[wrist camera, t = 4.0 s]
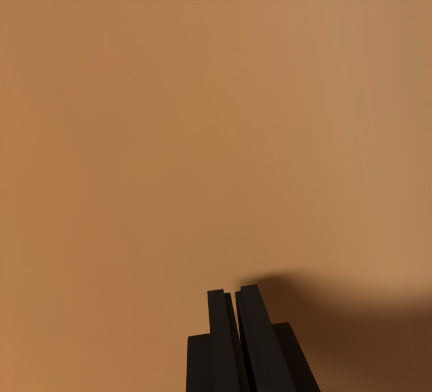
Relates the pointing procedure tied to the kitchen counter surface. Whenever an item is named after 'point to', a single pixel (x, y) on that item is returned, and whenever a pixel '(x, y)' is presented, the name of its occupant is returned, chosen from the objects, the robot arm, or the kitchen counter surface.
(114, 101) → the kitchen counter surface
